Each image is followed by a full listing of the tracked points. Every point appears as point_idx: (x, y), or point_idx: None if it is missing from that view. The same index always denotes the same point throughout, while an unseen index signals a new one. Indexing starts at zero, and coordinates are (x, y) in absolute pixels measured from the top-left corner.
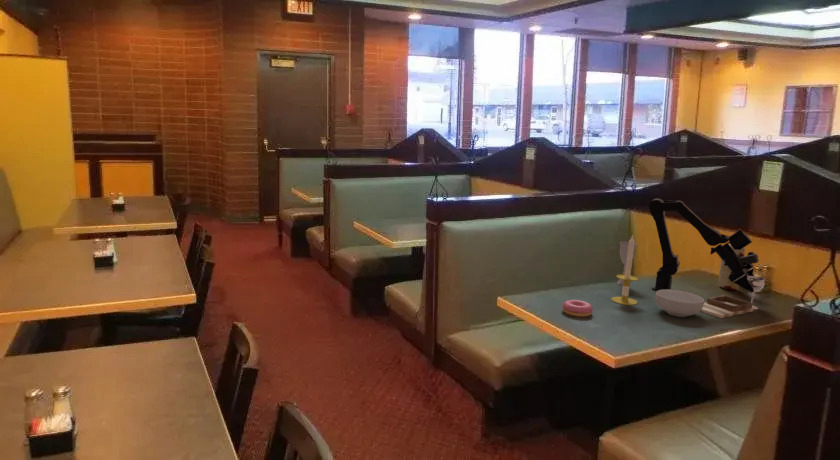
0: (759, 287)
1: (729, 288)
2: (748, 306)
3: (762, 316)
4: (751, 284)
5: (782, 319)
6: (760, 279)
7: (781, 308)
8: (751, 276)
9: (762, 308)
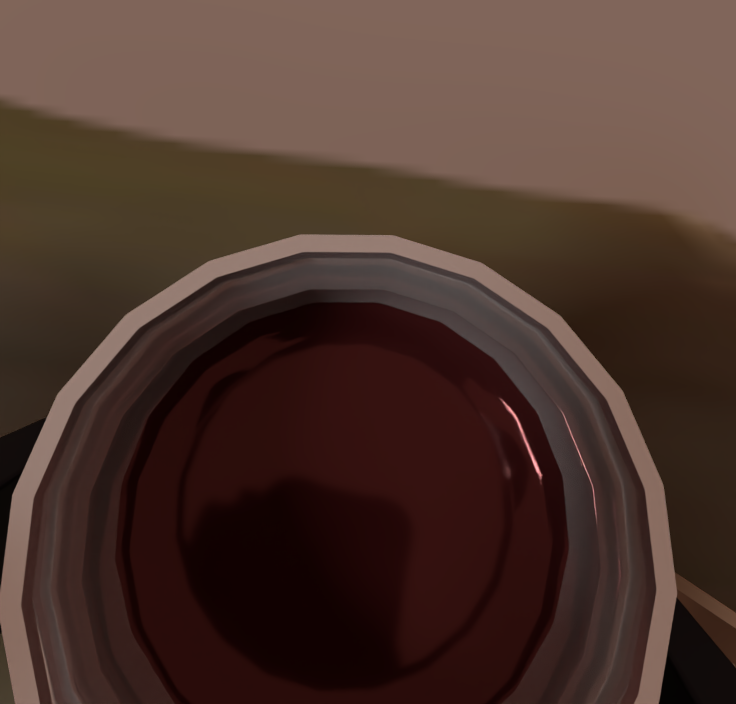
0: (521, 415)
1: None
2: None
3: (662, 389)
4: (567, 624)
5: (631, 212)
6: (164, 364)
7: (193, 169)
8: (51, 683)
9: None
